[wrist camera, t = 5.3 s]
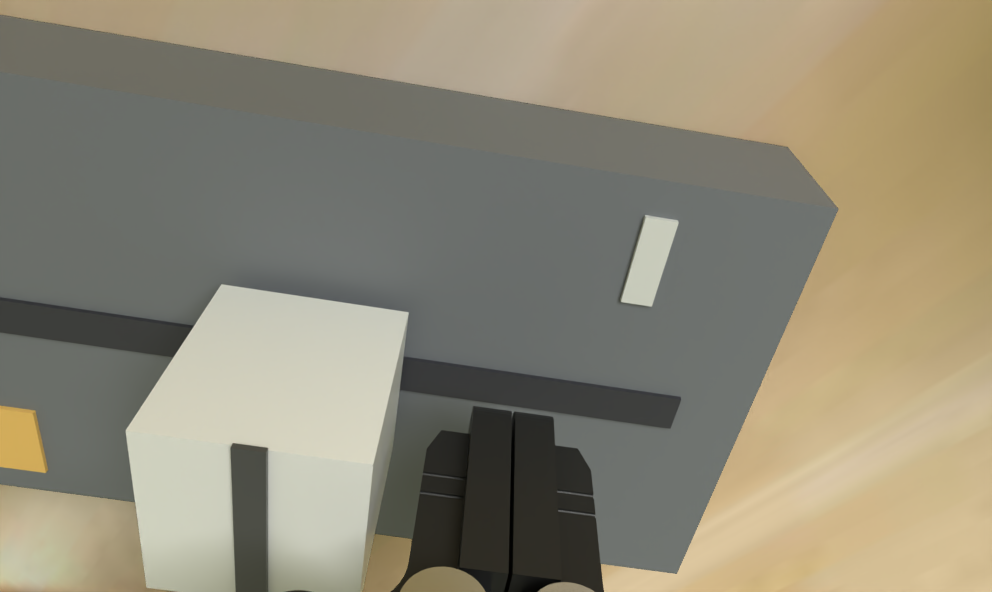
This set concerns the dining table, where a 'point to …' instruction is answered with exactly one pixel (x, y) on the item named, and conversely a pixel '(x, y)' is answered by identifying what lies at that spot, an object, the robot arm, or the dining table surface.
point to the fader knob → (268, 445)
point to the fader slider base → (390, 262)
